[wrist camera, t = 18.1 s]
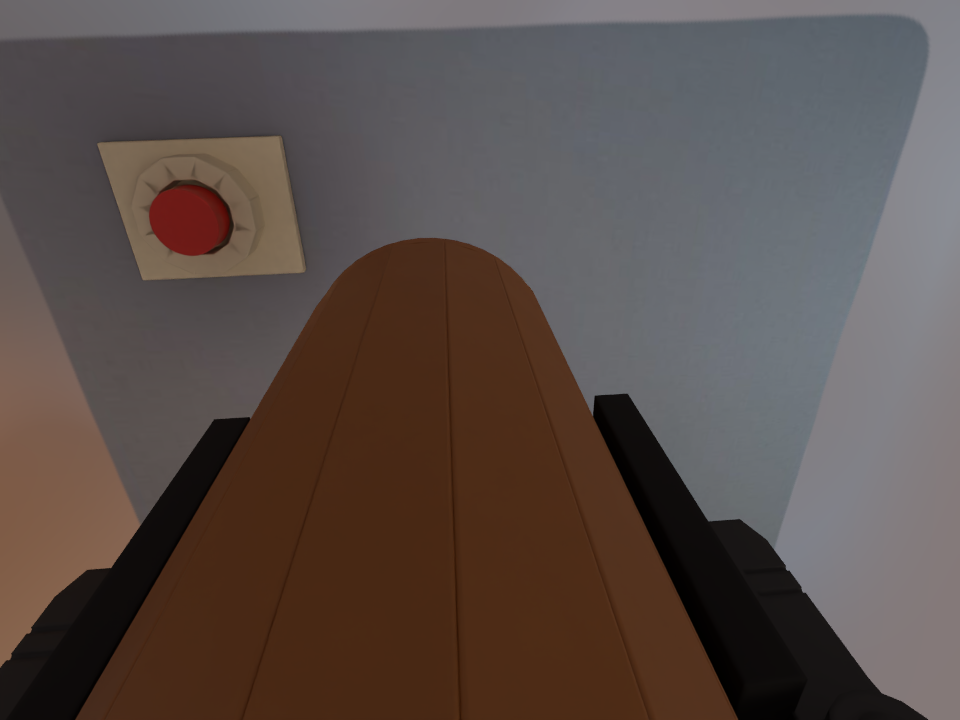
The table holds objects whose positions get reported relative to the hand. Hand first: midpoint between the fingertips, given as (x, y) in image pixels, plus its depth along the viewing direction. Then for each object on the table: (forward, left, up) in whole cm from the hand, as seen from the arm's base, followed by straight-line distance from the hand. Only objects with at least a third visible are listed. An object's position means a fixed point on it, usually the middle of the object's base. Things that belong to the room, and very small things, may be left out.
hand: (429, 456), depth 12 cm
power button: (+8, -11, -21) cm, 25 cm away
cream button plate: (+8, -11, -24) cm, 27 cm away
